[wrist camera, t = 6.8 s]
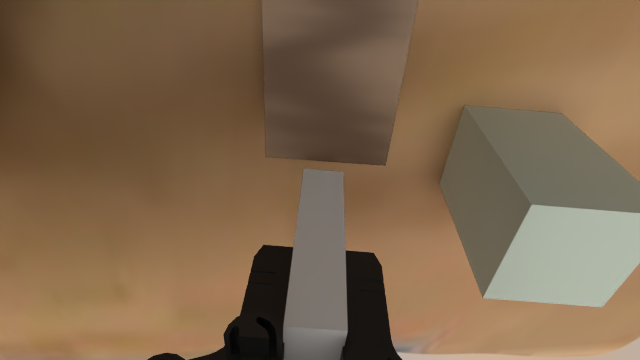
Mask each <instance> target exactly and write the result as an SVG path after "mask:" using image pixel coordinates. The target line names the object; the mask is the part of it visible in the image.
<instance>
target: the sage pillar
mask: <svg viewBox="0 0 640 360" xmlns="http://www.w3.org/2000/svg"><path fill="white" fill-rule="evenodd" d="M439 185H440V187H441V190H442V193H443V195H444V198H445V201H446V203H447V206H448V208H449V211H450V214H451V216H452V219H453V222H454V224H455V227H456V229H457V232H458V235H459V237H460V240H461V242H462V245H463V248H464V250H465V253H466V256H467V258H468V261H469V263H470V266H471V269H472V271H473V274H474V277H475V279H476V282H477V284H478V287H479V290H480V292H481V295H482V297H483V298H489V299H502V300H515V301H528V302H541V303H554V304H567V305H580V306H593V307H603V306H604V304H605V303H606V302H607V301H608V300H609V298H610V297H611V296H612V295H613V294H614V293H615V291H616V290H617V289H618V288H619V287H620V285H621V284H622V283H623V282H624V281H625V280H626V278H627V277H628V276H629V275H630V274H631V272H632V271H633V270H634V269H635V268H636V267H637V265H638V264H639V263H640V182H639V181H638V180H637V179H636V178H635V177H633V176H632V175H631V174H630V173H629V172H628V171H627V170H625V169H624V168H623V167H622V166H621V165H620V164H619V163H617V162H616V161H615V160H614V159H613V158H612V157H611V156H610V155H608V154H607V153H606V152H605V151H604V150H603V149H602V148H600V147H599V146H598V145H597V144H596V143H595V142H594V141H592V140H591V139H590V138H589V137H588V136H587V135H586V134H585V133H583V132H582V131H581V130H580V129H579V128H578V127H577V126H575V125H574V124H573V123H572V122H571V121H570V120H569V119H567V118H566V117H565V116H564V115H563V114H562V113H552V112H540V111H528V110H516V109H504V108H492V107H480V106H468V105H465V106H464V109H463V112H462V115H461V118H460V121H459V124H458V127H457V130H456V133H455V137H454V140H453V143H452V146H451V149H450V152H449V155H448V158H447V161H446V164H445V168H444V171H443V174H442V177H441V180H440V183H439Z"/></svg>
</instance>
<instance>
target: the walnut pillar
mask: <svg viewBox="0 0 640 360" xmlns="http://www.w3.org/2000/svg"><path fill="white" fill-rule="evenodd" d="M417 5H418V0H262V31H263V69H264V106H265V144H266V157H272V158H286V159H300V160H314V161H328V162H342V163H356V164H370V165H384V166H386V161H387V156H388V151H389V146H390V141H391V136H392V131H393V126H394V121H395V116H396V111H397V106H398V101H399V96H400V90H401V85H402V80H403V75H404V70H405V65H406V60H407V55H408V50H409V45H410V40H411V35H412V30H413V25H414V20H415V15H416V10H417Z"/></svg>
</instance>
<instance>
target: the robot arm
mask: <svg viewBox="0 0 640 360" xmlns="http://www.w3.org/2000/svg"><path fill="white" fill-rule="evenodd" d="M224 342H225V346H224V347H223V348H221V349H220V350H218V351H217V352H214V353H212V354H209V355H206V356H202V357H198V358H193V359H189V360H402V359H401V358H400V357H399V355H398V354H397V353H396V351H395V349H394V347H393V344H392V340H391V335H390V327H389V319H388V311H387V304H386V296H385V288H384V283H383V273H382V266H381V264H380V262H379V261H378V259H377V258H376V256H375V254H374V253H369V252H357V251H345V215H344V179H343V172H339V171H327V170H315V169H303V177H302V185H301V193H300V201H299V208H298V216H297V224H296V232H295V239H294V247H284V246H271V245H263V246H262V248H261V249H260V250H259V251H258V253H257V254H256V255H255V256H254V260H253V264H252V268H251V273H250V276H249V280H248V285H247V289H246V293H245V297H244V301H243V305H242V310H241V314H240V316H238V317H236V318H235V319H234V320H233V321H232V322H231V323H230V324H229V325H228V327H227V329H226V331H225V333H224ZM148 360H185V359H184V358H182V357H180V356H179V355H177V354H171V353H163V354H159V355H155V356H153V357H151V358H149V359H148Z"/></svg>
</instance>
